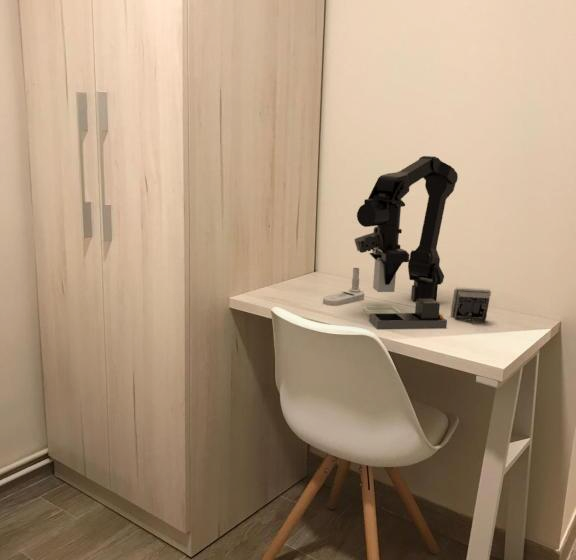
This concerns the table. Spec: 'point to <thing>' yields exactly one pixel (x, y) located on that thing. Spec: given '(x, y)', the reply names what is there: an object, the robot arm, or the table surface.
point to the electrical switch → (470, 304)
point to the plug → (382, 278)
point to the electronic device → (346, 293)
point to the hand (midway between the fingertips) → (384, 282)
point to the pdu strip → (411, 317)
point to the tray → (380, 309)
